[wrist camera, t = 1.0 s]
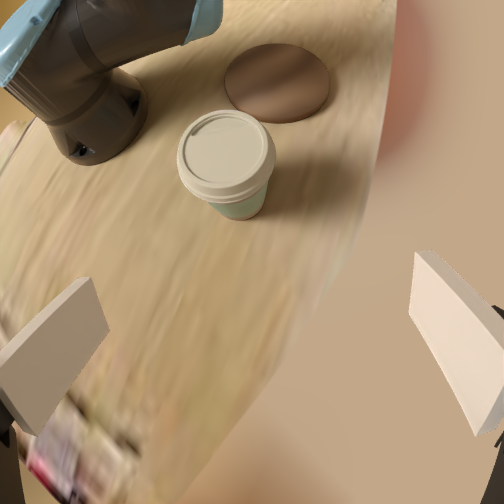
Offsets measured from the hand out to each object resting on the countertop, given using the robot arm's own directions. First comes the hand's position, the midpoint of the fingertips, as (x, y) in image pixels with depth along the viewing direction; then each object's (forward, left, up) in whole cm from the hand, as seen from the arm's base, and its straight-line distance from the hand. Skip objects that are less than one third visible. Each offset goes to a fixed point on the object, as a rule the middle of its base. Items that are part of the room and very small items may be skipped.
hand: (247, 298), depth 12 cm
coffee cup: (-11, +6, -23) cm, 26 cm away
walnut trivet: (-20, +21, -22) cm, 37 cm away
